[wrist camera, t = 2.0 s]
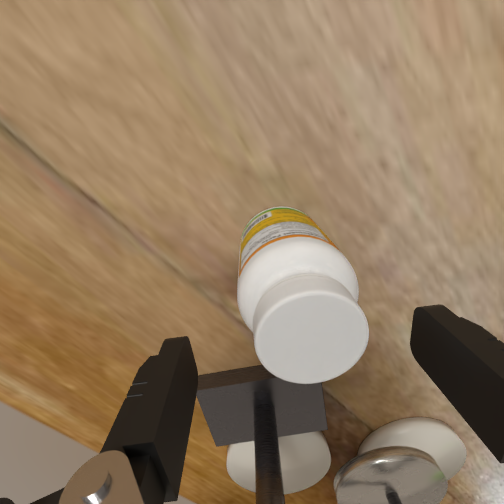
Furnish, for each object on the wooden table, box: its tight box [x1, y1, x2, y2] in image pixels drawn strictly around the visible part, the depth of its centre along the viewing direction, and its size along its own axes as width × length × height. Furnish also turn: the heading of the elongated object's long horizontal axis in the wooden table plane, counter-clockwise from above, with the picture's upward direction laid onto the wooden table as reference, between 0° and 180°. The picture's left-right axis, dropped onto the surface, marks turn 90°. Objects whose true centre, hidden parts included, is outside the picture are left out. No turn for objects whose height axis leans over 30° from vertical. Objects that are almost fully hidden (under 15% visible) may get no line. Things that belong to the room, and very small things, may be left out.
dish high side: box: [227, 431, 331, 494], centre depth 26 cm, size 10×10×1 cm
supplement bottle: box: [237, 207, 369, 384], centre depth 13 cm, size 5×5×10 cm
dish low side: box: [357, 417, 466, 480], centre depth 26 cm, size 10×10×1 cm
